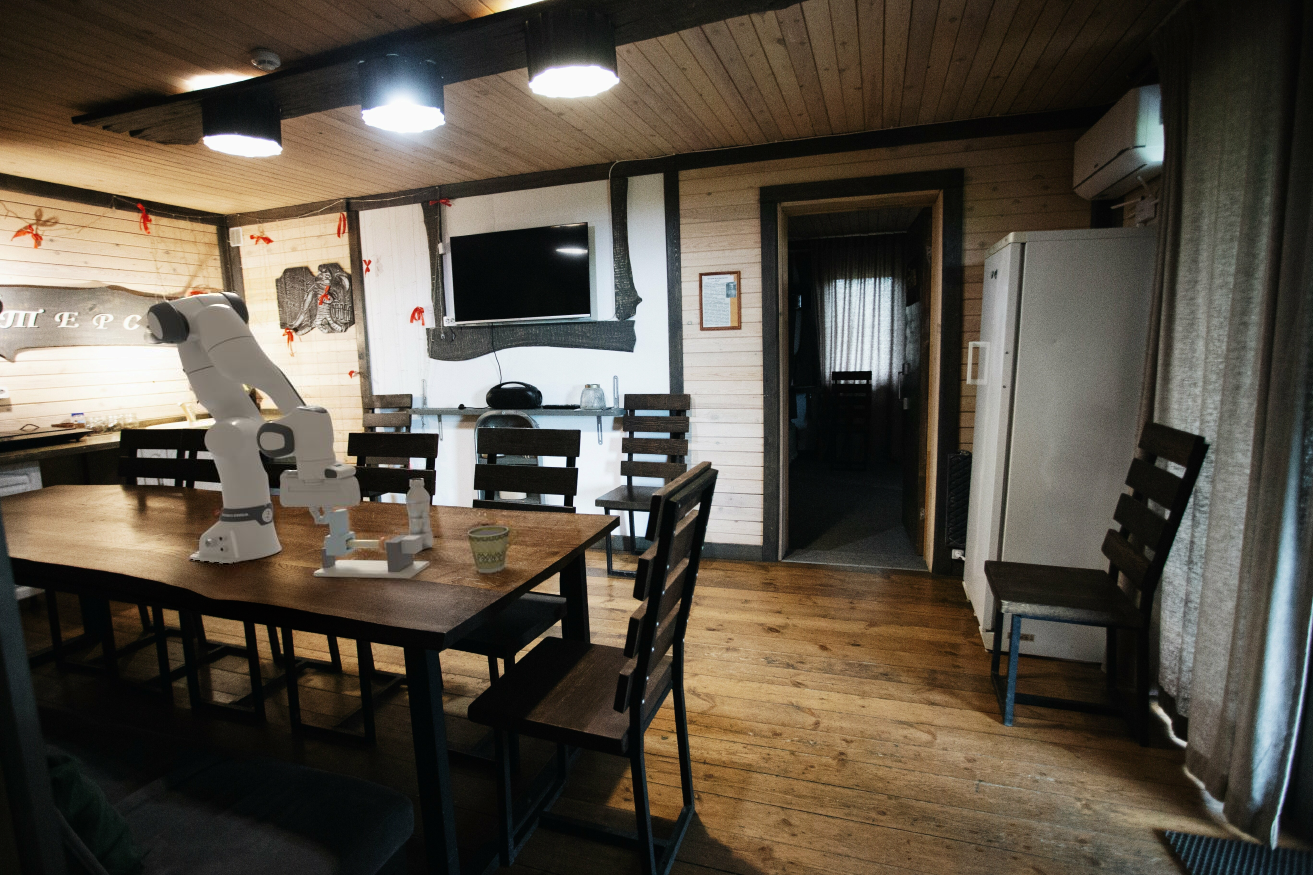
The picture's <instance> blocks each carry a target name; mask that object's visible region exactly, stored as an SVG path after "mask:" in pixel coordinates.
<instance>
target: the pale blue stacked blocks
mask: <svg viewBox="0 0 1313 875" xmlns="http://www.w3.org/2000/svg"><path fill="white" fill-rule="evenodd" d="M328 517H329V523H328V527H329V528H328V529H329V534H328V535H326V536H325V535H324V541H325V545H326V555H335V557H336V556H338V557H339V556H343V557H345V556H347V555H349V554H352V553H353V552H355V551H357V548H347V547H346V540H356V534H355V533H356V532H354V531H350V527H349V526H350V524H349V514H348V509H347V508H340V509H337V510H334V511H332V512H331V513H328Z"/></svg>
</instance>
